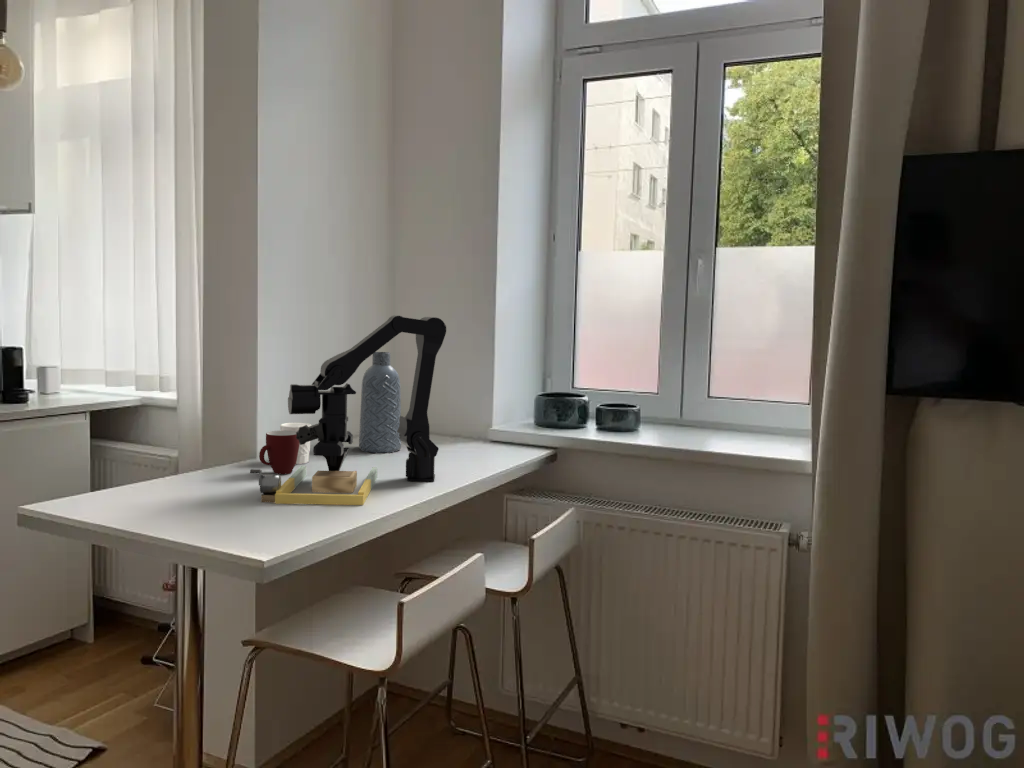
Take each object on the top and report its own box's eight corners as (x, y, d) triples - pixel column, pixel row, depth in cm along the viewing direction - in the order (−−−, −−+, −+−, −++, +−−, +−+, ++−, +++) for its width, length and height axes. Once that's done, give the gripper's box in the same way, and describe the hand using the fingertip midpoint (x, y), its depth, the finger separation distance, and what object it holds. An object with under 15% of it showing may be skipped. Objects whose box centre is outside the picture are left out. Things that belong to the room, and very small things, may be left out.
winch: (281, 498, 179) (281, 467, 179) (277, 502, 175) (277, 471, 175) (253, 497, 179) (253, 467, 178) (248, 502, 175) (248, 471, 174)
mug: (274, 479, 197) (274, 438, 196) (250, 475, 201) (250, 434, 200) (306, 472, 206) (306, 432, 205) (283, 468, 210) (283, 429, 209)
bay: (377, 477, 203) (377, 467, 203) (363, 505, 175) (363, 493, 175) (301, 475, 202) (301, 465, 202) (274, 503, 174) (275, 491, 174)
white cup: (309, 458, 224) (309, 422, 223) (312, 464, 216) (312, 426, 215) (279, 459, 221) (279, 422, 220) (280, 465, 214) (281, 427, 213)
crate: (356, 488, 193) (356, 470, 193) (352, 495, 186) (352, 476, 186) (317, 487, 193) (317, 469, 192) (312, 494, 186) (312, 476, 185)
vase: (350, 449, 239) (351, 351, 236) (379, 444, 249) (380, 350, 246) (380, 455, 232) (382, 354, 230) (409, 449, 242) (411, 353, 239)
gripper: (307, 407, 201) (306, 470, 203) (290, 418, 183) (290, 487, 184) (353, 408, 202) (352, 471, 204) (341, 419, 183) (340, 488, 185)
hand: (333, 479), depth 194 cm, fingers closed
